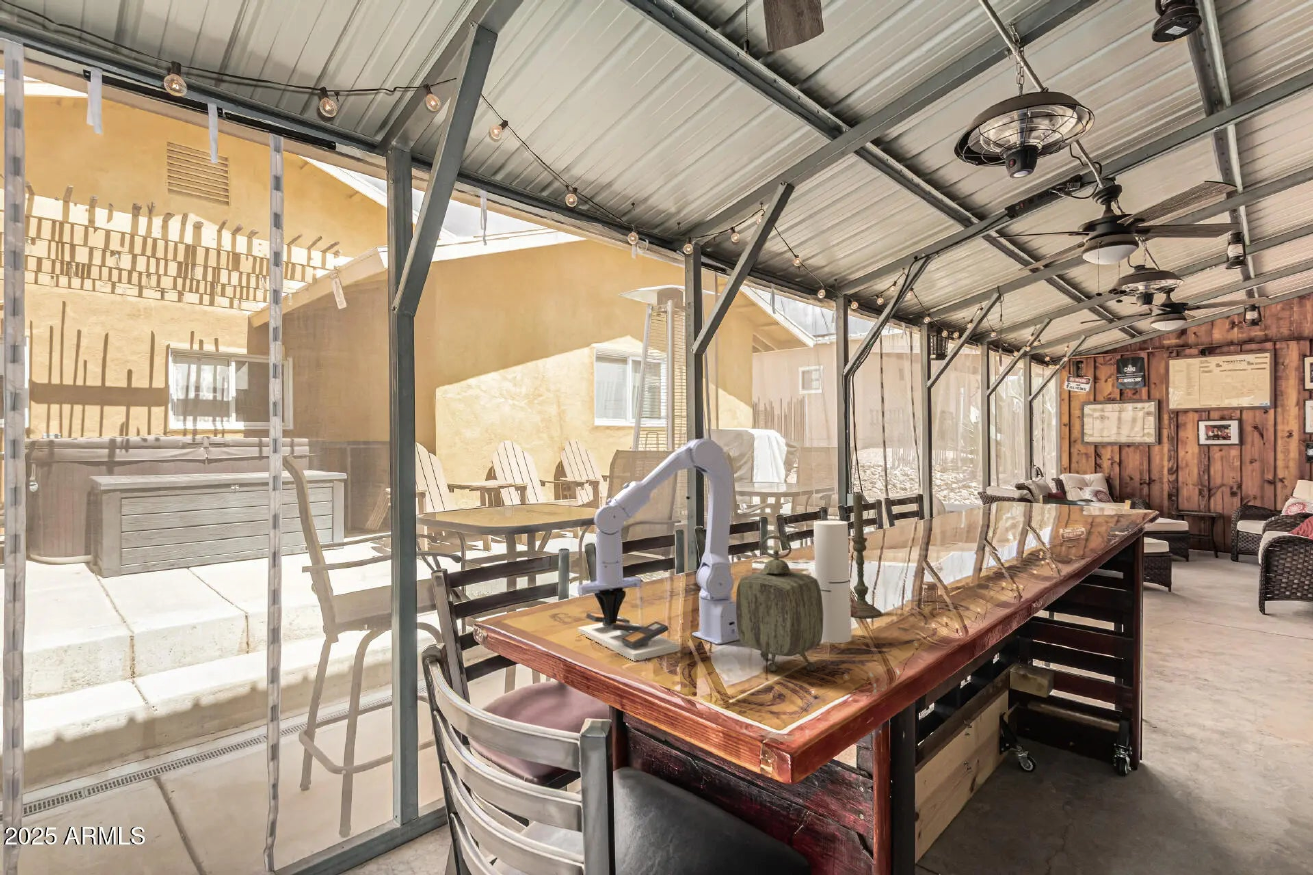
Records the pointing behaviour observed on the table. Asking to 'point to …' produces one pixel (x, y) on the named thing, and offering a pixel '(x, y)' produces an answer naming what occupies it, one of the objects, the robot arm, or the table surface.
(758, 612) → the tabletop clock
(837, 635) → the cylindrical container
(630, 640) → the rocker near
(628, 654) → the switch strip
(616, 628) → the rocker middle
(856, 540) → the candlestick holder
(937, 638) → the table surface
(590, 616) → the rocker far
